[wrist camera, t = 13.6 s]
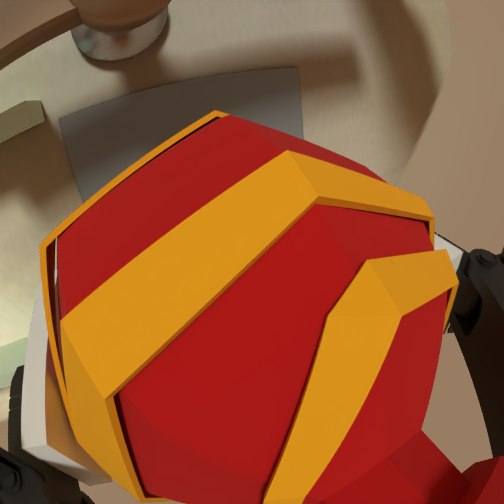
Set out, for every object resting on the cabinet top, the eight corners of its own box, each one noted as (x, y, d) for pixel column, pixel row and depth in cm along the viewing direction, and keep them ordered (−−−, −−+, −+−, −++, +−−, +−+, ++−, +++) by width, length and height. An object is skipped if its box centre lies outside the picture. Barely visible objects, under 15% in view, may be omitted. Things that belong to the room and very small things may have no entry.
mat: (124, 298, 18) (125, 299, 18) (59, 118, 11) (58, 118, 11) (306, 230, 22) (307, 231, 22) (296, 67, 16) (297, 67, 16)
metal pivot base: (78, 73, 11) (65, 63, 7) (69, -5, 8) (57, -38, 4) (171, 48, 12) (193, 31, 9) (161, -27, 9) (181, -63, 6)
